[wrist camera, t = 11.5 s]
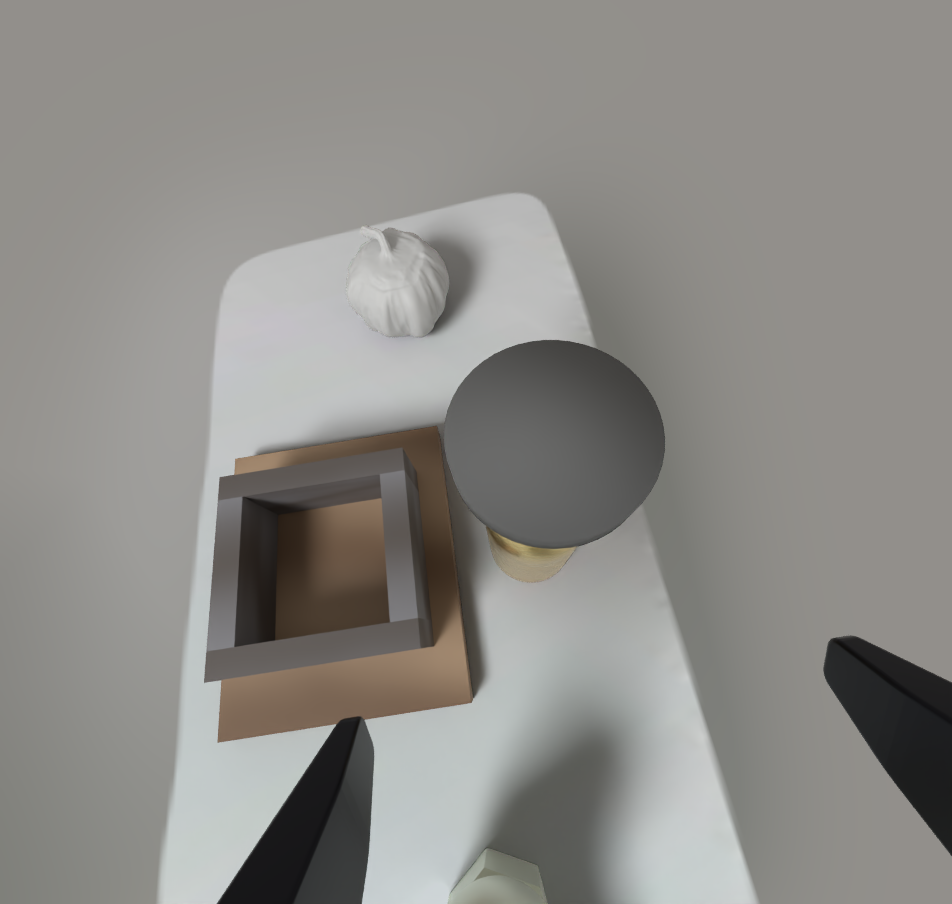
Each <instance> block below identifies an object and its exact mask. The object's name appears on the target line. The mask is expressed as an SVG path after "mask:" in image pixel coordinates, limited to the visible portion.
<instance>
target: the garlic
mask: <svg viewBox="0 0 952 904" xmlns="http://www.w3.org/2000/svg"><path fill="white" fill-rule="evenodd" d="M360 232H361V234H362V235H363V236H365V237H368V238H371V239H370V240H369V241H367V242H365V243H364V244H362V245H361V247H360V248H359V251H358V252H357V254H356V255H355V257H354V258H353V259H352V261H351V263H350V265H349V267H348V276H347V280H346V288H347V290H346V295H347V300H348V302H349V304H350V306H351V307H352V308H353V310H354V311H355V312H356V313H357V314H358V315H360V316H361V317H362V318H363V319H364V321H365V323H366V325H367V326H368V327H369V328H370V329H371V330H373V331H379V332H380V333H381V334H383V335H385V336H387V337H401V336H410V335H411V336H414V337H424V336H426V335H427V334H428V333H429V332H430V331H431V330H432V329H433V327H434V324H435V322H436V321H437V319H438V318H439V316H440V315H441V314H442V313H443V311H444V308H445V302H446V295H447V293H448V290H449V276H448V272H447V269H446V266H445V263H444V261H443V259H442V258H441V257H440V255H439V253H438V252H437V251H436V250H435V249H434V248H432V247H431V246H429V245H428V244H427V243H426V242H425V241H423V240H422V239H421V238H420V237H419V236H417V235H416V234H414V233H411V232H403V231H398V230H396V229H394V228H387V229H385V230H384V231H383V232H382V231H380V230H379V229H376V228H371V227H369V226H367V225H364V226H362V227H361V229H360Z"/></svg>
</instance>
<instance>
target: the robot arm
mask: <svg viewBox="0 0 952 904" xmlns="http://www.w3.org/2000/svg"><path fill="white" fill-rule="evenodd" d="M824 676H825V678H826V681H827V683H828V684H829V686H830V688H831V689H832V691H833V692H834V694H835V695H836V697H837V698H838V700H839V701H840V703H841V704H842V706H843V707H844V709H845V710H846V712H847V713H848V715H849V716H850V718H851V720H852V721H853V722H854V724H855V726H856V727H857V729H858V730H859V732H860V733H861V735H862V736H863V738H864V739H865V741H866V742H867V744H868V746H869V747H870V749H871V750H872V752H873V753H874V755H875V756H876V758H877V759H878V760H879V762H880V763H881V765H882V766H883V768H884V769H885V770H886V771H887V773H888V774H889V776H890V777H891V778H892V780H893V781H894V782H895V784H896V785H897V786H898V788H899V789H900V790H901V791H902V793H903V794H904V795H905V797H906V798H907V799H908V800H909V802H910V803H911V804H912V806H913V807H914V808H915V809H916V811H917V812H918V813H919V815H920V816H921V817H922V818H923V820H924V821H925V822H926V824H927V825H928V826H929V828H930V829H931V830H932V831H933V833H934V834H935V835H936V837H937V838H938V839H939V840H940V842H941V843H942V844H943V846H944V847H945V848H946V849H947V850H948V852H949V853H950V855H951V856H952V682H950V681H948V680H946V679H943V678H942V677H939V676H937V675H935V674H933V673H931V672H929V671H927V670H925V669H923V668H921V667H919V666H917V665H915V664H913V663H911V662H908V661H906V660H904V659H902V658H900V657H898V656H896V655H894V654H892V653H890V652H888V651H886V650H884V649H882V648H880V647H878V646H875V645H873V644H871V643H869V642H867V641H865V640H863V639H861V638H859V637H856V636H843V637H837V638H833V639H831V640H830V641H829V642H828V646H827V652H826V657H825V662H824ZM373 769H374V747H373V743H372V740H371V737H370V734H369V732H368V729H367V726H366V723H365V721H364V719H363V718H362V717H361V716H355V717H349V718H344V719H342V720H340V721H339V722H338V723H337V725H336V726H335V728H334V729H333V731H332V732H331V734H330V735H329V737H328V738H327V740H326V741H325V743H324V744H323V746H322V747H321V749H320V750H319V752H318V753H317V755H316V756H315V758H314V759H313V761H312V762H311V764H310V765H309V767H308V768H307V770H306V771H305V773H304V774H303V776H302V777H301V779H300V780H299V782H298V783H297V785H296V786H295V788H294V789H293V791H292V792H291V794H290V795H289V797H288V798H287V800H286V801H285V803H284V804H283V806H282V807H281V809H280V810H279V812H278V813H277V815H276V816H275V817H274V819H273V820H272V822H271V823H270V825H269V826H268V828H267V829H266V831H265V832H264V834H263V835H262V837H261V838H260V840H259V841H258V843H257V844H256V846H255V847H254V849H253V850H252V852H251V853H250V855H249V856H248V858H247V859H246V861H245V862H244V864H243V865H242V867H241V868H240V870H239V871H238V873H237V874H236V876H235V877H234V879H233V880H232V882H231V883H230V885H229V886H228V888H227V889H226V891H225V892H224V894H223V895H222V897H221V898H220V900H219V901H218V903H217V904H362V898H363V891H364V884H365V877H366V870H367V863H368V854H369V842H370V825H371V806H372V788H373Z"/></svg>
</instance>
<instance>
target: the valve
mask: <svg viewBox="0 0 952 904" xmlns="http://www.w3.org/2000/svg"><path fill="white" fill-rule="evenodd" d="M448 904H548V902H547V899H546V895H545V891H544V887H543V883H542V880H541V876H540V872H539V868H538V866H537V865H535V864H533V863H530V862H527V861H524V860H521V859H518V858H516V857H513V856H510V855H507V854H504V853H501V852H498V851H495V850H493V849H489V848H486V849H485V850H484V851H483V852H482V854H481V855H480V856H479V858H478V859H477V860H476V861H475V863H474V864H473V865H472V866H471V868H470V869H469V870H468V871H467V873H466V874H465V875H464V877H463V878H462V879H461V880H460V882H459V883H458V884H457V885H456V887H455V888H454V889H453V891H452V892H451V893H450V895H449V899H448Z"/></svg>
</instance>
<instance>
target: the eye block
mask: <svg viewBox="0 0 952 904" xmlns="http://www.w3.org/2000/svg"><path fill="white" fill-rule="evenodd" d="M218 680H222V681H221V697H220V712H219V728H218V742H224V741H231V740H237V739H243V738H250V737H256V736H263V735H269V734H275V733H282V732H288V731H295V730H301V729H307V728H314V727H320V726H327V725H333V724H337V723H338V722H339V721H340V720H342V719H344V718H349V717H355V716H361V717H362V718H363V719H364V720H365V719H371V718H378V717H384V716H390V715H397V714H403V713H410V712H416V711H422V710H429V709H435V708H442V707H448V706H454V705H461V704H467V703H471V702H472V701H473V693H472V686H471V678H470V670H469V662H468V654H467V646H466V638H465V630H464V622H463V615H462V607H461V599H460V591H459V583H458V575H457V567H456V559H455V551H454V544H453V536H452V528H451V520H450V512H449V504H448V496H447V488H446V480H445V473H444V465H443V457H442V449H441V441H440V434H439V431H438V428H437V426H433V427H427V428H421V429H415V430H409V431H403V432H397V433H391V434H384V435H378V436H372V437H366V438H360V439H354V440H348V441H342V442H336V443H330V444H324V445H317V446H311V447H305V448H299V449H293V450H287V451H281V452H275V453H269V454H263V455H257V456H250V457H244V458H238V459H235V474H234V475H231V476H225V477H220V480H219V494H218V507H217V520H216V533H215V546H214V559H213V573H212V586H211V599H210V612H209V625H208V638H207V652H206V665H205V678H204V683H205V682H212V681H218Z"/></svg>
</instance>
